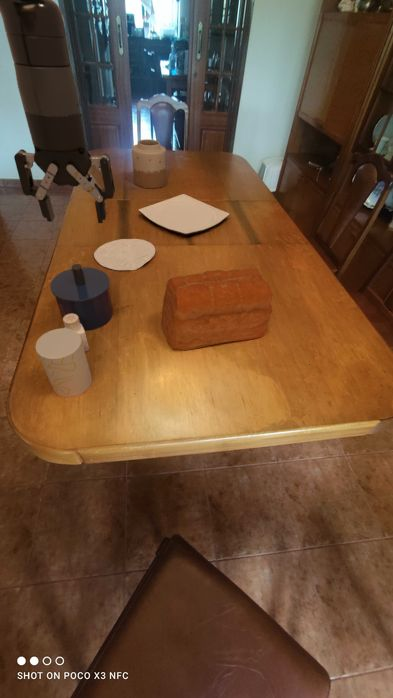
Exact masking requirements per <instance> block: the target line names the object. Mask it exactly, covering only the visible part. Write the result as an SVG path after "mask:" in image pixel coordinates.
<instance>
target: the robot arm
mask: <svg viewBox="0 0 393 698" xmlns="http://www.w3.org/2000/svg"><path fill="white" fill-rule="evenodd" d="M0 15H1V19H2V23H3V26H4V32H5V34H6V39H7V42H8V46H9V50H10V54H11V58H12V61H13V66H14V71H15V72H14V73H15V78H16V79H15V80H16V85H17V89H18V92H19V96H20V100H21V104H22V107H23V111H24V115H25V119H26V123H27V127H28V130H29V134H30V137H31V142H32V145H33V148H34V152H27V151H26V150H25V149H19V151H17V152H16V153H15V154H14V155H13V159H14V162H15V166H16V170H17V175H18V178H19V182H20V186H21V189H22V193H23V194H24V195H25V196H27V197H29V196H32V197H34V198H35V199H36V200H37V202H38V205H39V208H40V212H41V215H42V217H43V219H46V221H47V222H49V223H50V222H53V221H54V219H55V212H54V209H53V205H52V200H51V197H50V195H49V194H48V192H49V190H50V188H51V186H52V184H53V183H54V184H55V185H57V186H58V187H65V186H70V187H79V186H80V185H81V187H82V188H83V189H84V191H86V192H87V193H89V194H90V195H91V196H92V197H93V198H94V200H95V201H94V206H95V212H96V218H97V223H98V224H103V223H104V221H105V220H106V218H107V213H108V212H107V206H106V200H108V199H109V200H112V199H113V198H114V196H115V192H116V188H115V182H114V177H113V170H112V165H111V159H110V156H109V154H107V153H103V154H102V155H98V156H97V155H95V156H94V155H91V154H90V152H89V149H88V145H87V139H86V133H85V128H84V127H85V126H84V122H83V121H84V120H83V115H82V107H81V106H82V103H81V98H80V95H79V90H78V85H77V82H76V81H77V80H76V77H75V74H74V71H73V66H72V60H71V59H72V58H71V54H70V53H71V51H70V46H69V41H68V35H67V28H66V22H65V19H64V15H63V12H62V10H61V8H60V6H59V5H58V3H56V2H55V1H54V0H0ZM34 163H35V165H36V166H37V167H38V168H39V169H40V170H41V171H42V172H43V174H44V176H43V177H42V180H41V182H40V184H39V186H38V185H35V182H34V178H33V174H32V168H33V167H34ZM92 166H94V167H95V168H96V171H97V172H98V173H101V176H102V181H103V186H104V188H103V187H101V186H100V185H99V183H98V182H97V180H96V178H95V177H94V176H93V175H92V173H90V172H89V171H90V169H91V168H92Z"/></svg>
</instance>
